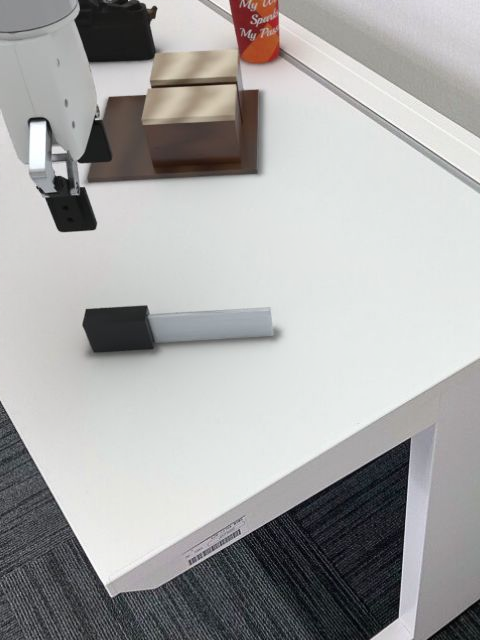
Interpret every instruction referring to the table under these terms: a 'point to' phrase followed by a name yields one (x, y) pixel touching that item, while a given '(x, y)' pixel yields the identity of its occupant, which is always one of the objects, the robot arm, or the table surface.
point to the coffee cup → (256, 29)
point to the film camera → (116, 30)
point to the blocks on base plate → (183, 122)
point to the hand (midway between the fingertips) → (87, 193)
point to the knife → (169, 326)
